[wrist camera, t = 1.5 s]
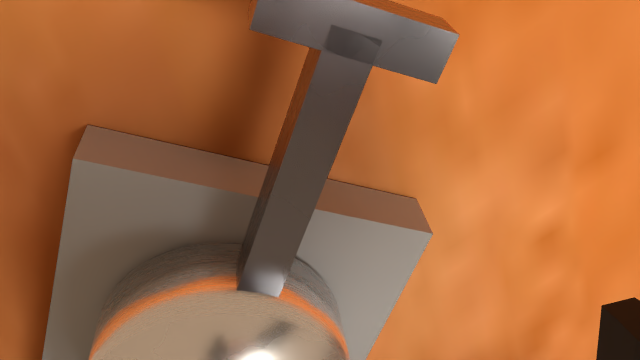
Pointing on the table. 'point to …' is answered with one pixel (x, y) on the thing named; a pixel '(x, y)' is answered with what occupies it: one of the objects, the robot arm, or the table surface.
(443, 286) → the table surface
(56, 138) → the table surface
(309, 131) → the grey t-handle
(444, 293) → the table surface
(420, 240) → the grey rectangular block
